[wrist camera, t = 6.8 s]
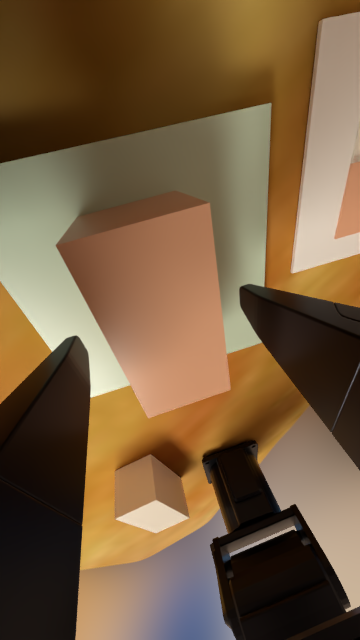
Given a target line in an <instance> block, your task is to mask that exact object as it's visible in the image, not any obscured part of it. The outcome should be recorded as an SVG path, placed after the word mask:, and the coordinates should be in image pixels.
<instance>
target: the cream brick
mask: <svg viewBox="0 0 360 640" xmlns="http://www.w3.org/2000/svg"><path fill="white" fill-rule="evenodd" d="M188 518H189V513H188V508H187V504H186V499H185V494H184V490H183V485H182V480H181V478H180V477H179V476H178V475H177V474H175V473H174V472H173V471H171V470H170V469H169V468H168V467H166V466H165V465H164V464H163V463H161V462H160V461H159V460H157V459H156V458H155V457H154V456H152V455H151V454H150V455H148V456H145V457H143V458H141V459H139V460H137V461H135V462H133V463H131V464H129V465H126V466H124V467H122V468H120V469H118V470H116V471H115V519H116V520H119V521H122V522H125V523H127V524H130V525H133V526H136V527H139V528H142V529H145V530H148V531H151V532H154V533H158V532H160V531H162V530H164V529H166V528H169V527H171V526H173V525H175V524H177V523H179V522H182V521H184V520H186V519H188Z"/></svg>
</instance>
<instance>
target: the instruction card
mask: <svg viewBox="0 0 360 640" xmlns="http://www.w3.org/2000/svg"><path fill="white" fill-rule="evenodd" d="M356 254H360V12H356V13H351V14H345V15H340V16H335V17H330V18H325V19H322V20H321V21H319V25H318V34H317V43H316V51H315V60H314V69H313V78H312V87H311V96H310V105H309V114H308V122H307V131H306V140H305V149H304V158H303V167H302V176H301V185H300V193H299V202H298V211H297V220H296V229H295V238H294V247H293V255H292V264H291V273H296V272H299V271H302V270H306V269H309V268H313V267H316V266H319V265H323V264H326V263H329V262H333V261H336V260H339V259H343V258H346V257H350V256H353V255H356Z"/></svg>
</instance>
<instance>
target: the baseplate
mask: <svg viewBox="0 0 360 640" xmlns="http://www.w3.org/2000/svg"><path fill="white" fill-rule="evenodd" d="M270 127H271V103H267V104H263V105H258V106H254V107H250V108H245V109H241V110H236V111H232V112H227V113H223V114H218V115H214V116H209V117H205V118H201V119H196V120H192V121H187V122H183V123H178V124H174V125H169V126H165V127H160V128H156V129H152V130H147V131H143V132H138V133H134V134H129V135H125V136H120V137H116V138H111V139H107V140H103V141H98V142H94V143H89V144H85V145H80V146H76V147H71V148H67V149H62V150H58V151H54V152H49V153H45V154H40V155H36V156H31V157H27V158H22V159H18V160H13V161H9V162H5V163H0V281H1V283H2V284H3V285H4V287H5V288H6V290H7V291H8V292H9V294H10V295H11V296H12V298H13V299H14V300H15V302H16V303H17V304H18V306H19V307H20V309H21V310H22V311H23V313H24V314H25V315H26V317H27V318H28V319H29V321H30V322H31V323H32V325H33V326H34V328H35V329H36V330H37V332H38V333H39V334H40V336H41V337H42V338H43V340H44V341H45V342H46V344H47V345H48V347H49V348H50V349H51V351H52V352H53V351H54V350H55V349H56V348H57V347H58V346H59V345H60V344H61V343H62V342H63V341H64V340H65V339H66V338H68V337H71V336H75V335H77V336H78V337H79V338H80V339H81V341H82V342H83V344H84V346H85V347H86V349H87V351H88V354H89V367H90V382H91V395H90V398H91V397H94V396H98V395H101V394H104V393H107V392H110V391H113V390H116V389H119V388H122V387H126V386H129V385H130V383H129V381H128V379H127V378H126V376H125V374H124V372H123V370H122V368H121V366H120V365H119V363H118V361H117V359H116V357H115V355H114V353H113V352H112V350H111V348H110V346H109V344H108V342H107V340H106V339H105V337H104V335H103V333H102V331H101V329H100V327H99V326H98V324H97V322H96V320H95V318H94V316H93V314H92V312H91V311H90V309H89V307H88V305H87V303H86V301H85V299H84V298H83V296H82V294H81V292H80V290H79V288H78V286H77V285H76V283H75V281H74V279H73V277H72V275H71V273H70V272H69V270H68V268H67V266H66V264H65V262H64V260H63V259H62V257H61V255H60V253H59V251H58V249H57V247H56V246H55V245H56V244H57V243H58V241H59V240H60V239H61V237H62V236H63V235H64V233H65V232H66V231H67V230H68V228H69V227H70V226H71V224H72V223H73V222H74V220H75V219H76V218H77V217H78V216H82V215H86V214H90V213H93V212H97V211H101V210H105V209H108V208H112V207H116V206H119V205H123V204H127V203H131V202H134V201H138V200H142V199H145V198H149V197H153V196H157V195H160V194H164V193H168V192H172V191H175V190H176V191H179V192H181V193H184V194H187V195H190V196H193V197H195V198H198V199H201V200H204V201H206V202H209V203H210V209H211V218H212V227H213V236H214V245H215V254H216V263H217V272H218V281H219V289H220V298H221V307H222V316H223V325H224V334H225V343H226V352H227V354H228V353H231V352H234V351H238V350H241V349H244V348H247V347H250V346H253V345H256V344H259V343H262V341H261V340H260V339H259V337H258V336H257V334H256V333H255V331H254V330H253V328H252V326H251V324H250V323H249V321H248V319H247V318H246V316H245V314H244V312H243V311H242V309H241V307H240V297H239V289H240V287H241V286H243V285H246V284H253V285H258V286H262V287H264V281H265V255H266V230H267V204H268V178H269V153H270Z"/></svg>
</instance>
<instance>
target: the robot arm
mask: <svg viewBox="0 0 360 640" xmlns="http://www.w3.org/2000/svg"><path fill="white" fill-rule="evenodd" d="M239 297H240V307H241V309H242V311H243V312H244V314H245V316H246V318H247V319H248V321H249V323H250V324H251V326H252V328H253V330H254V331H255V333H256V334H257V336H258V337H259V339H260V340H261V341H262V343H263V344H264V345H265V347H266V348H267V349H268V351H269V352H270V353H271V354H272V356H273V357H274V358H275V360H276V361H277V362H278V364H279V365H280V366H281V368H282V369H283V370H284V372H285V373H286V374H287V375H288V377H289V378H290V379H291V381H292V382H293V383H294V385H295V386H296V387H297V389H298V390H299V391H300V392H301V394H302V395H303V396H304V398H305V399H306V400H307V402H308V403H309V404H310V406H311V407H312V408H313V409H314V411H315V412H316V413H317V415H318V416H319V417H320V419H321V420H322V421H323V423H324V424H325V425H326V426H327V428H328V429H329V430H330V432H332V434H333V436H334V437H335V439H336V440H337V441H338V442H339V444H340V445H341V446H342V448H343V449H344V450H345V452H346V453H347V454H348V456H349V457H350V458H351V459H352V461H353V462H354V463H355V465H356V466H357V467H358V469H359V470H360V308H358V307H354V306H349V305H344V304H340V303H333V302H330V301H326V300H321V299H317V298H312V297H308V296H303V295H299V294H294V293H290V292H285V291H280V290H276V289H271V288H267V287H262V286H258V285H253V284H246V285H243V286H241V287H240V289H239ZM90 395H91V382H90V367H89V354H88V351H87V349H86V347H85V346H84V344H83V342H82V341H81V339H80V338H79V337H78V336H77V335H75V336H71V337H68V338H66V339H65V340H64V341H63V342H62V343H61V344H60V345H59V346H58V347H57V348H56V349H55V350H54V351H53V352H52V353H51V354H50V355H49V356H48V357H47V358H46V359H45V360H44V361H43V362H42V363H41V364H40V365H39V366H38V367H37V368H36V369H35V370H34V371H33V372H32V373H31V374H30V375H29V376H28V377H27V378H26V379H25V380H24V381H23V382H22V383H21V384H20V385H19V386H18V387H17V388H16V389H15V390H14V391H13V392H12V393H11V394H10V395H9V396H8V397H7V398H6V399H5V400H4V401H3V402H2V403H1V404H0V640H75V636H76V621H77V605H78V589H79V573H80V557H81V541H82V522H83V507H84V491H85V475H86V459H87V443H88V427H89V411H90ZM257 452H258V444H257V442H256V441H255V440H253V441H250V442H247V443H244V444H242V445H239V446H236V447H233V448H231V449H228V450H225V451H222V452H219V453H217V454H214V455H211V456H208V457H206V458H204V459H202V463H203V467H204V470H205V473H206V476H207V480H208V483H210V484H211V483H212V484H213V487H214V490H215V494H216V497H217V500H218V503H219V507H220V509H221V513H222V516H223V519H224V523H225V526H226V529H227V532H228V534H227V535H224V536H222V537H220V538H218V537H216V538H214V539H213V543H212V544H211V545H210V547H211V551H212V555H213V559H214V563H215V568H216V573H217V579H218V586H219V592H220V599H221V604H222V611H223V617H224V621H225V624H226V625H227V626H228V627H229V628H231V629H232V631H233V634H234V636H235V638H236V640H360V606H359V607H357V608H355V609H353V610H351V611H349V612H346V611H345V609H347V608H349V607H351V606H350V602H349V600H348V597H347V595H346V593H345V591H344V589H343V587H342V584H341V582H340V581H339V579H338V577H337V575H336V573H335V571H334V569H333V567H332V566H331V564H330V562H329V561H328V559H327V557H326V555H325V553H324V552H323V550H322V548H321V547H320V545H319V543H318V542H317V540H316V538H315V537H314V535H313V533H312V531H311V530H310V528H309V526H308V525H307V523H306V521H305V520H304V518H303V516H302V514H301V513H300V511H299V510H298V508H297V506H296V504H294V505H291V506H290V508H288V509H285V510H283V511H281V510H280V507H279V505H278V503H277V501H276V499H275V497H274V495H273V493H272V491H271V489H270V487H269V485H268V483H267V481H266V479H265V477H264V475H263V473H262V471H261V469H260V467H259V464H258V462H257ZM294 525H295V528H296V530H297V531H295V530H291V531H289V532H287V533H284V534H282V535H280V536H277V537H275V538H273V539H270V540H268V541H266V542H263V543H261V544H259V545H256V546H254V547H252V548H250V549H247V550H245V551H242V552H240V553H238V554H235V555H233V556H231V558H230V555H229V553H231V552H233V551H235V550H238V549H240V548H242V547H245V546H247V545H249V544H252V543H254V542H257V541H259V540H261V539H263V538H266V537H268V536H271V535H273V534H275V533H277V532H280V531H282V530H285V529H287V528H289V527H291V526H294Z"/></svg>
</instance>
